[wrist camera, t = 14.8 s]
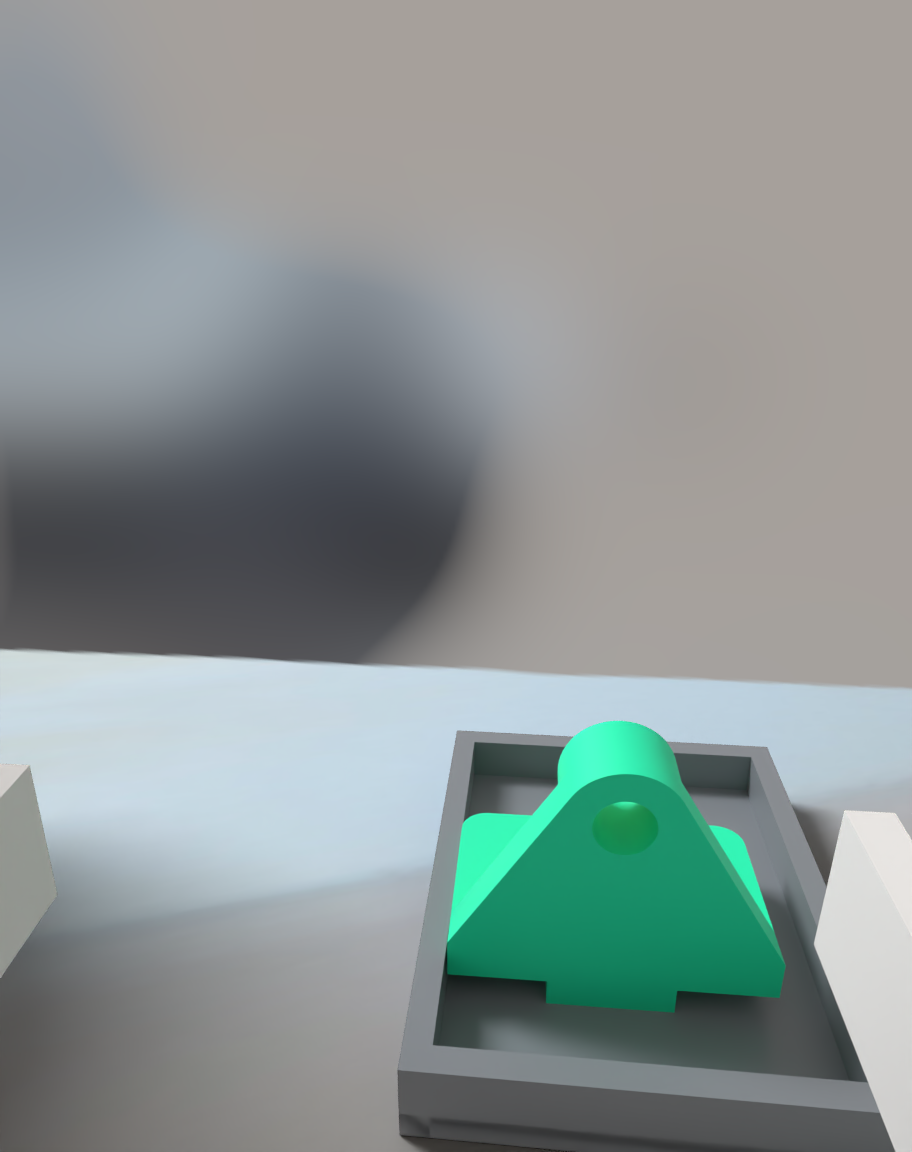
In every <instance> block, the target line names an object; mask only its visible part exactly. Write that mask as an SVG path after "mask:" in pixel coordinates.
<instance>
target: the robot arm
mask: <svg viewBox="0 0 912 1152" xmlns="http://www.w3.org/2000/svg"><path fill="white" fill-rule="evenodd" d="M56 896H57V890H56V885H55V881H54V876H53V871H52V867H51V862H50V858H49V853H48V848H47V844H46V839H45V834H44V830H43V825H42V821H41V816H40V811H39V807H38V802H37V797H36V793H35V788H34V784H33V779H32V774H31V770H30V765H16V764H0V978H1V977H2V975H3V974H4V972H5V971H6V970H7V968H8V967H9V965H10V964H11V962H12V961H13V959H14V958H15V956H16V955H17V953H18V952H19V951H20V949H21V948H22V946H23V945H24V943H25V942H26V940H27V939H28V937H29V936H30V934H31V933H32V932H33V930H34V929H35V927H36V926H37V924H38V923H39V921H40V920H41V918H42V917H43V915H44V914H45V913H46V911H47V910H48V908H49V907H50V905H51V904H52V902H53V901H54V899H55V898H56ZM814 946H815V949H816V951H817V954H818V956H819V959H820V961H821V964H822V966H823V969H824V971H825V974H826V976H827V979H828V982H829V984H830V987H831V989H832V992H833V994H834V997H835V999H836V1002H837V1004H838V1007H839V1010H840V1012H841V1015H842V1017H843V1020H844V1022H845V1025H846V1027H847V1030H848V1032H849V1035H850V1038H851V1040H852V1043H853V1045H854V1048H855V1050H856V1053H857V1055H858V1058H859V1060H860V1063H861V1065H862V1068H863V1071H864V1073H865V1076H866V1078H867V1081H868V1083H869V1086H870V1088H871V1091H872V1093H873V1096H874V1099H875V1101H876V1104H877V1106H878V1109H879V1111H880V1114H881V1116H882V1119H883V1121H884V1124H885V1127H886V1129H887V1132H888V1134H889V1137H890V1139H891V1142H892V1144H893V1147H894V1149H895V1152H912V840H911V838H910V837H909V835H908V833H907V832H906V830H905V828H904V827H903V825H902V824H901V822H900V820H899V819H898V817H897V815H896V814H895V813H883V812H865V811H847V810H844V815H843V819H842V823H841V828H840V832H839V836H838V841H837V845H836V849H835V854H834V858H833V863H832V867H831V871H830V876H829V880H828V884H827V889H826V893H825V897H824V902H823V906H822V910H821V915H820V919H819V924H818V928H817V932H816V937H815V941H814Z"/></svg>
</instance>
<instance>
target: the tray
mask: <svg viewBox="0 0 912 1152" xmlns="http://www.w3.org/2000/svg"><path fill="white" fill-rule="evenodd" d="M572 738H573V737H568V736H550V735H531V734H512V733H493V732H475V731H457V734H456V740H455V746H454V751H453V757H452V763H451V768H450V774H449V780H448V785H447V791H446V797H445V802H444V808H443V814H442V820H441V825H440V831H439V837H438V842H437V848H436V854H435V859H434V865H433V871H432V876H431V882H430V888H429V894H428V899H427V905H426V911H425V916H424V922H423V928H422V933H421V939H420V945H419V950H418V956H417V962H416V968H415V973H414V979H413V985H412V990H411V996H410V1002H409V1007H408V1013H407V1019H406V1024H405V1030H404V1036H403V1041H402V1047H401V1053H400V1059H399V1064H398V1070H397V1071H398V1101H399V1131H400V1135H406V1136H416V1137H427V1138H437V1139H448V1140H458V1141H469V1142H479V1143H490V1144H500V1145H511V1146H521V1147H532V1148H542V1149H553V1150H563V1151H574V1152H895V1149H894V1147H893V1144H892V1142H891V1139H890V1137H889V1134H888V1132H887V1129H886V1127H885V1124H884V1121H883V1119H882V1116H881V1114H880V1111H879V1109H878V1106H877V1104H876V1101H875V1099H874V1096H873V1093H872V1091H871V1088H870V1086H869V1083H868V1081H867V1078H866V1076H865V1073H864V1071H863V1068H862V1065H861V1063H860V1060H859V1058H858V1055H857V1053H856V1050H855V1048H854V1045H853V1043H852V1040H851V1038H850V1035H849V1032H848V1030H847V1027H846V1025H845V1022H844V1020H843V1017H842V1015H841V1012H840V1010H839V1007H838V1004H837V1002H836V999H835V997H834V994H833V992H832V989H831V987H830V984H829V982H828V979H827V976H826V974H825V971H824V969H823V966H822V964H821V961H820V959H819V956H818V954H817V951H816V949H815V946H814V941H815V937H816V932H817V928H818V924H819V919H820V915H821V910H822V906H823V902H824V897H825V893H826V889H827V887H826V885H825V882H824V880H823V878H822V875H821V873H820V871H819V868H818V866H817V864H816V861H815V859H814V857H813V854H812V852H811V850H810V847H809V845H808V843H807V840H806V838H805V835H804V833H803V831H802V828H801V826H800V824H799V821H798V819H797V817H796V814H795V812H794V810H793V807H792V805H791V803H790V800H789V798H788V796H787V793H786V791H785V788H784V786H783V784H782V781H781V779H780V777H779V774H778V772H777V770H776V767H775V765H774V763H773V760H772V758H771V756H770V753H769V751H768V748H767V747H755V746H736V745H718V744H699V743H680V742H667V743H668V745H669V746H670V748H671V749H672V751H673V753H674V756H675V759H676V762H677V766H678V770H679V774H680V778H681V782H682V783H683V785H684V787H685V788H686V790H687V792H688V793H689V795H690V796H691V798H692V800H693V801H694V803H695V805H696V806H697V808H698V809H699V811H700V813H701V814H702V816H703V818H704V819H705V821H706V822H707V824H708V825H710V826H720V827H724V828H727V829H729V830H731V831H733V832H735V833H736V834H738V835H739V836H740V837H741V838H742V840H743V841H744V843H745V846H746V849H747V852H748V855H749V858H750V861H751V864H752V867H753V870H754V873H755V876H756V879H757V882H758V885H759V888H760V891H761V894H762V897H763V900H764V903H765V906H766V909H767V912H768V915H769V918H770V921H771V924H772V927H773V930H774V933H775V936H776V939H777V942H778V945H779V948H780V951H781V954H782V956H783V959H784V962H785V965H786V966H785V972H784V977H783V982H782V988H781V993H780V998H772V997H758V996H744V995H730V994H716V993H702V992H688V991H677V997H676V1004H675V1012H674V1013H671V1012H658V1011H644V1010H631V1009H617V1008H604V1007H590V1006H577V1005H563V1004H550V1003H546V981H534V980H520V979H506V978H492V977H478V976H464V975H450V974H447V941H448V933H449V925H450V917H451V909H452V901H453V893H454V886H455V878H456V870H457V862H458V854H459V846H460V838H461V830H462V825H463V823H464V821H465V820H466V819H468V818H469V817H471V816H473V815H476V814H480V813H497V814H514V815H533V814H534V812H535V811H536V810H537V809H538V808H539V807H540V805H541V804H542V803H543V802H544V801H545V799H546V798H547V797H548V796H549V795H550V793H551V792H552V791H553V790H554V789H555V787H556V786H557V785H558V763H559V759H560V756H561V754H562V751H563V750H564V748H565V746H566V745H567V744H568V742H569V741H570V740H571V739H572Z"/></svg>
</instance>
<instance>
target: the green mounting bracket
mask: <svg viewBox="0 0 912 1152" xmlns="http://www.w3.org/2000/svg"><path fill="white" fill-rule="evenodd" d="M785 966H786V965H785V962H784V959H783V956H782V954H781V951H780V948H779V945H778V942H777V939H776V936H775V933H774V930H773V927H772V924H771V921H770V918H769V915H768V912H767V909H766V906H765V903H764V900H763V897H762V894H761V891H760V888H759V885H758V882H757V879H756V876H755V873H754V870H753V867H752V864H751V861H750V858H749V855H748V852H747V849H746V846H745V843H744V841H743V840H742V838H741V837H740V836H739V835H738V834H736V833H735V832H733V831H731V830H729V829H727V828H724V827H720V826H710V825H708V824H707V822H706V821H705V819H704V818H703V816H702V814H701V813H700V811H699V809H698V808H697V806H696V805H695V803H694V801H693V800H692V798H691V796H690V795H689V793H688V792H687V790H686V788H685V787H684V785H683V783H682V782H681V778H680V774H679V770H678V766H677V762H676V759H675V756H674V753H673V751H672V749H671V748H670V746H669V745H668V743H667V742H666V741H665V740H664V739H663V738H662V737H661V736H660V735H659V734H657V733H656V732H654V731H653V730H651V729H649V728H647V727H645V726H643V725H640V724H637V723H633V722H627V721H609V722H603V723H599V724H596V725H593V726H590V727H588V728H586V729H584V730H583V731H581V732H579V733H578V734H577V735H576V736H574V737H573V738H572V739H571V740H570V741H569V742H568V744H567V745H566V746H565V748H564V750H563V751H562V754H561V756H560V759H559V763H558V785H557V786H556V787H555V789H554V790H553V791H552V792H551V793H550V795H549V796H548V797H547V798H546V799H545V801H544V802H543V803H542V804H541V805H540V807H539V808H538V809H537V810H536V811H535V812H534V814H533V815H514V814H497V813H480V814H476V815H473V816H471V817H469V818H468V819H466V820H465V821H464V823H463V825H462V830H461V838H460V846H459V854H458V862H457V870H456V878H455V886H454V893H453V901H452V909H451V917H450V925H449V933H448V941H447V974H450V975H464V976H478V977H492V978H506V979H520V980H534V981H546V1003H550V1004H563V1005H577V1006H590V1007H604V1008H617V1009H631V1010H644V1011H658V1012H671V1013H674V1012H675V1004H676V997H677V991H688V992H702V993H716V994H730V995H744V996H758V997H772V998H780V993H781V988H782V982H783V977H784V972H785Z"/></svg>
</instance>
